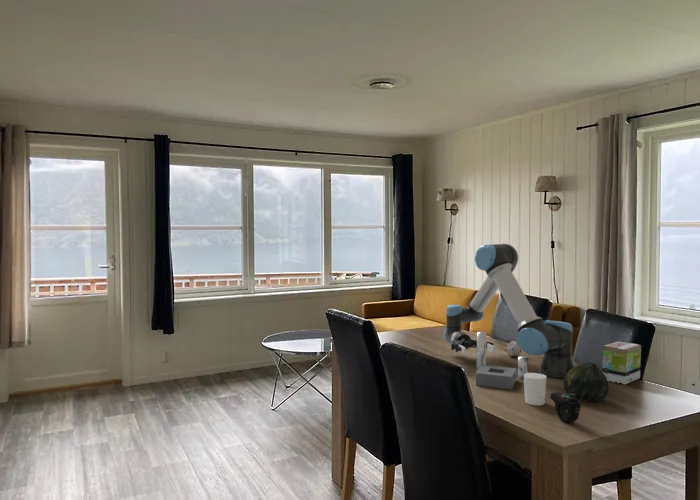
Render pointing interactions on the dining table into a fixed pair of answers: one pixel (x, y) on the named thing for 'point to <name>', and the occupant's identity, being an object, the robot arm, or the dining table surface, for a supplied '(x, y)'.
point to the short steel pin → (522, 366)
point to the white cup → (535, 388)
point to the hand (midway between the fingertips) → (479, 350)
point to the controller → (566, 406)
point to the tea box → (621, 362)
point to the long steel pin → (481, 349)
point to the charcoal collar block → (496, 377)
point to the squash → (586, 383)
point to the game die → (513, 348)
